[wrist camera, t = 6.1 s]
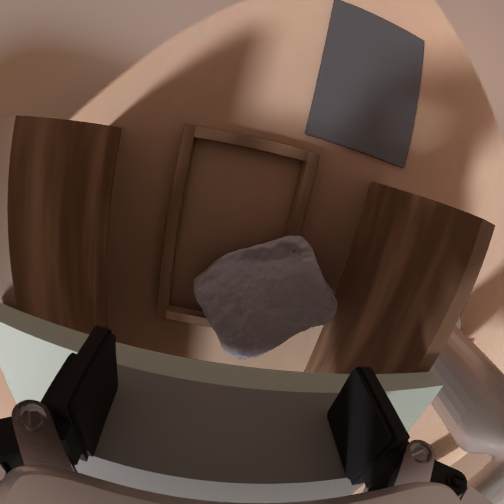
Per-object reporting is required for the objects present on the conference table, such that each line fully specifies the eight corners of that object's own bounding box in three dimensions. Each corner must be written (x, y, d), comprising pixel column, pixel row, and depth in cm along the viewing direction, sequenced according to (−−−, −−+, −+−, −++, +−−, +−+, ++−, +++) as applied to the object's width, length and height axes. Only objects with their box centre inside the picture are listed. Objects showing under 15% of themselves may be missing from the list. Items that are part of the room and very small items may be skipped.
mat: (422, 42, 21) (424, 41, 21) (402, 168, 26) (404, 168, 26) (334, 0, 19) (335, -2, 19) (304, 133, 24) (305, 133, 24)
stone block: (187, 270, 29) (235, 350, 30) (175, 281, 24) (232, 374, 25) (293, 214, 28) (335, 301, 29) (302, 215, 23) (350, 316, 24)
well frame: (385, 176, 26) (499, 209, 12) (287, 426, 38) (303, 511, 24) (109, 116, 22) (2, 97, 8) (105, 398, 34) (76, 481, 20)
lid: (432, 371, 15) (480, 437, 9) (343, 479, 20) (359, 531, 14) (-3, 301, 11) (-67, 364, 5) (48, 440, 16) (27, 493, 10)
